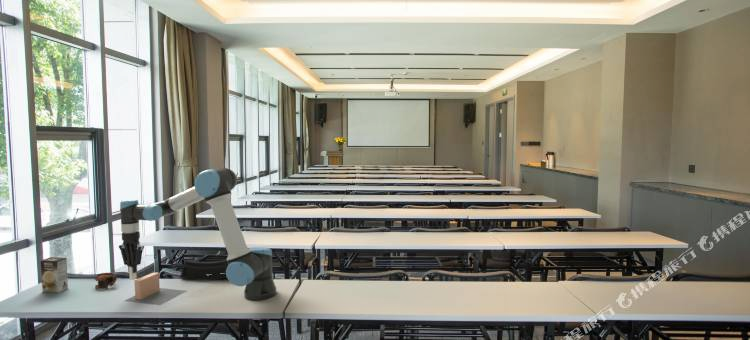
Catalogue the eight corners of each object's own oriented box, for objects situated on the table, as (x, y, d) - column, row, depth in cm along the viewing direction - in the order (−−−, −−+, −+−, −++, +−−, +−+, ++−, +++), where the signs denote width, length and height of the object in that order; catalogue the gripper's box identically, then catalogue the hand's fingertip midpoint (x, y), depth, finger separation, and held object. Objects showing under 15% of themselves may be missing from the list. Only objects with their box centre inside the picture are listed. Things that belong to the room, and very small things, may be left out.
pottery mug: (88, 291, 211) (90, 274, 215) (104, 292, 220) (106, 277, 223) (109, 286, 209) (110, 269, 213) (124, 288, 218) (125, 272, 221)
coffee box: (41, 292, 208) (39, 260, 207) (52, 287, 215) (50, 256, 213) (58, 292, 207) (56, 261, 206) (69, 288, 214) (67, 257, 212)
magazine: (175, 263, 225) (227, 247, 224) (177, 261, 229) (229, 246, 228) (185, 293, 227) (237, 277, 226) (188, 290, 230) (239, 275, 229)
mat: (187, 292, 208) (187, 290, 208) (160, 306, 191) (160, 305, 191) (153, 288, 213) (153, 287, 213) (124, 302, 196) (124, 300, 196)
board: (159, 290, 209) (158, 272, 208) (140, 299, 197) (139, 281, 196) (154, 289, 209) (153, 272, 209) (135, 299, 198) (134, 280, 197)
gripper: (147, 230, 205) (150, 277, 207) (125, 229, 208) (128, 275, 210) (135, 233, 197) (138, 282, 199) (113, 232, 201) (115, 280, 203)
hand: (133, 279), depth 205 cm, fingers closed
